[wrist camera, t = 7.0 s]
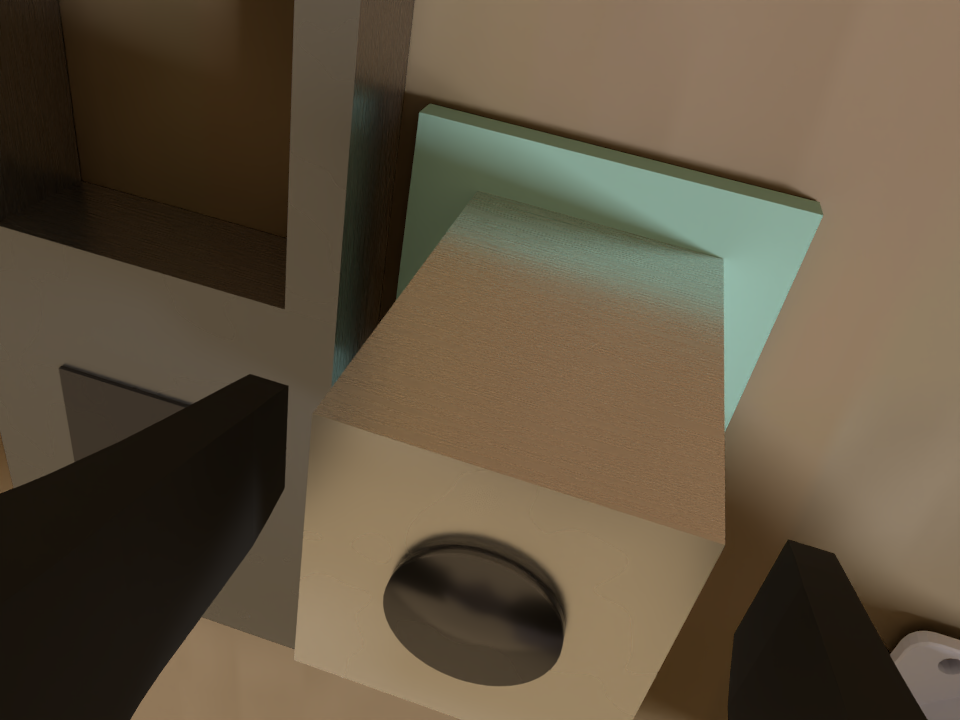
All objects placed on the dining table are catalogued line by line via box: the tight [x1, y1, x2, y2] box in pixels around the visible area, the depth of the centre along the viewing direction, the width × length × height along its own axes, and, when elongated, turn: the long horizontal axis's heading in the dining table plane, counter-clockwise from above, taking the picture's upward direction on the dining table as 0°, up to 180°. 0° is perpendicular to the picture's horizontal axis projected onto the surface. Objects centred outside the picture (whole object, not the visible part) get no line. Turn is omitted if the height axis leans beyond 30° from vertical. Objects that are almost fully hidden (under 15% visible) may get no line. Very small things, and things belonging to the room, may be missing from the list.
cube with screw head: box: [294, 191, 725, 720], centre depth 12 cm, size 4×4×7 cm
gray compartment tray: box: [0, 0, 414, 649], centre depth 16 cm, size 8×20×3 cm, turn 170°
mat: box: [396, 104, 823, 431], centre depth 15 cm, size 7×7×1 cm
